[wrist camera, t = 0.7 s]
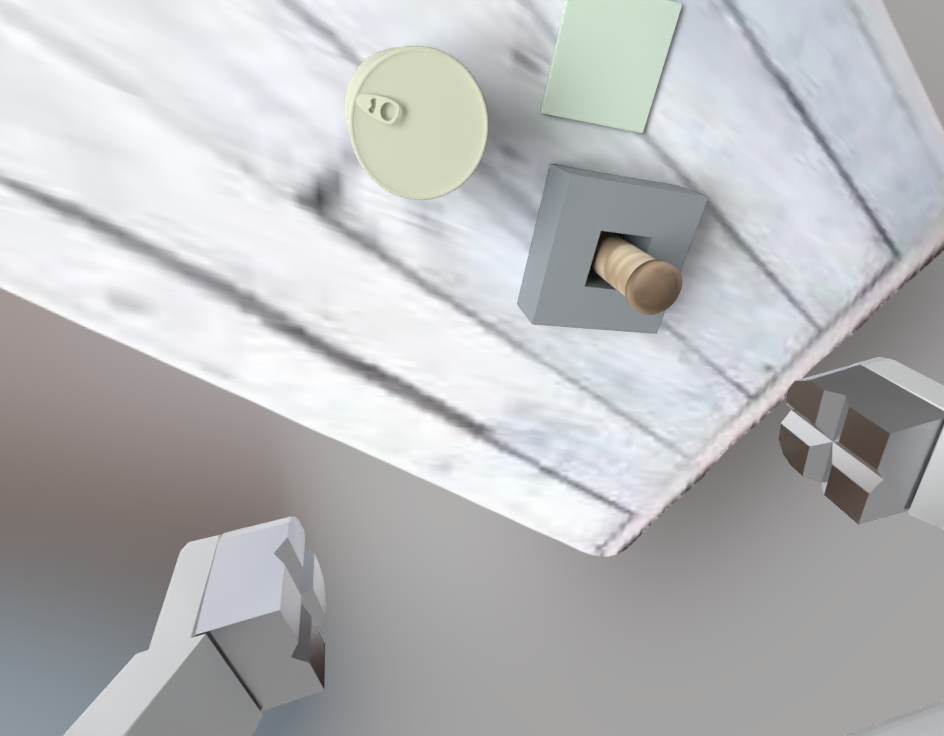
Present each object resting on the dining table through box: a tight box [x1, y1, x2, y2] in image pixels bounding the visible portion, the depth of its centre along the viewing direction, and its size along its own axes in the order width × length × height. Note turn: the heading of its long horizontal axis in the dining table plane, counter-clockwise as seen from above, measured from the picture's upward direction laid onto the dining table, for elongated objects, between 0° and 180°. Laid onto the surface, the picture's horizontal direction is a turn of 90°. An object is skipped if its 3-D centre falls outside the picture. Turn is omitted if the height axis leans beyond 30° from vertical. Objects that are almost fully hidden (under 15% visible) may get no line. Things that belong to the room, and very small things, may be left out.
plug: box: [590, 231, 682, 315], centre depth 49 cm, size 5×5×12 cm
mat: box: [541, 0, 682, 133], centre depth 45 cm, size 10×10×1 cm
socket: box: [517, 164, 709, 334], centre depth 52 cm, size 14×14×5 cm
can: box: [345, 46, 488, 200], centre depth 39 cm, size 9×9×12 cm
